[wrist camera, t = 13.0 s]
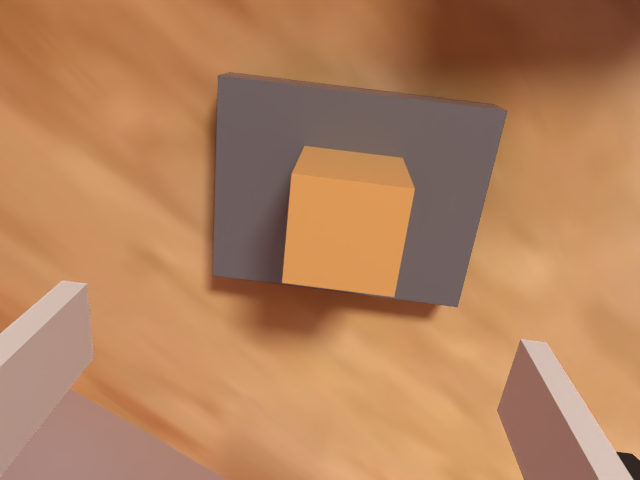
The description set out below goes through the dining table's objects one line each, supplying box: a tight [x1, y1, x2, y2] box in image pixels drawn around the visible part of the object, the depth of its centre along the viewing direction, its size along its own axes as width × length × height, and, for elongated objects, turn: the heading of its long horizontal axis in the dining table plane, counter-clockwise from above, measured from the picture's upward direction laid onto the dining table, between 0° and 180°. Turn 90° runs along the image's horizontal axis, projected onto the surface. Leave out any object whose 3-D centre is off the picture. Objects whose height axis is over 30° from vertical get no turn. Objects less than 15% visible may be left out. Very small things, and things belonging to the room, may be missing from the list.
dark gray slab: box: [213, 72, 507, 307], centre depth 34 cm, size 18×14×3 cm
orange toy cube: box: [282, 146, 415, 297], centre depth 30 cm, size 6×6×7 cm
